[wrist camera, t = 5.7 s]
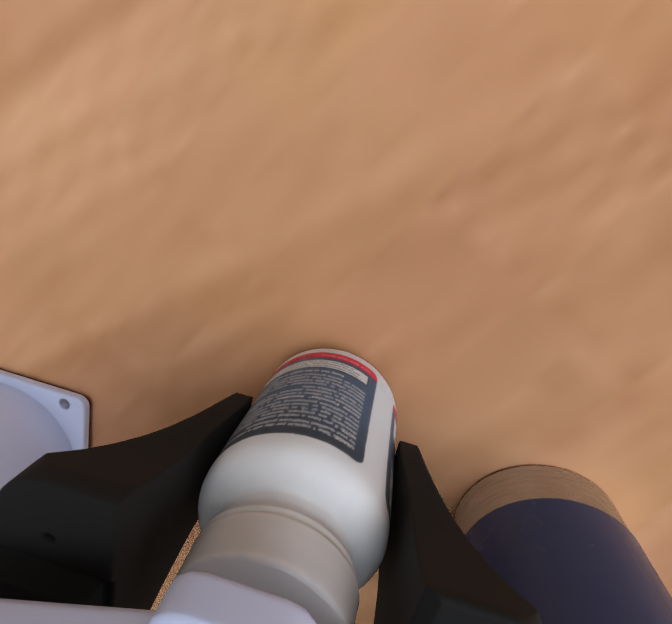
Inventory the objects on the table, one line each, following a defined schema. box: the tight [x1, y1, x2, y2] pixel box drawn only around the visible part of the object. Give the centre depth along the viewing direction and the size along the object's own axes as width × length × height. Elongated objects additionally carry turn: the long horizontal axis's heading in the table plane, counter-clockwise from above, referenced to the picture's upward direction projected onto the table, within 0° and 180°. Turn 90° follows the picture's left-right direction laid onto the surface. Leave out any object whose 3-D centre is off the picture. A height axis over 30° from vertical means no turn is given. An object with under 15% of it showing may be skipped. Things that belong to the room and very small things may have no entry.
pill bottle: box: [177, 349, 397, 624], centre depth 13 cm, size 5×5×9 cm
